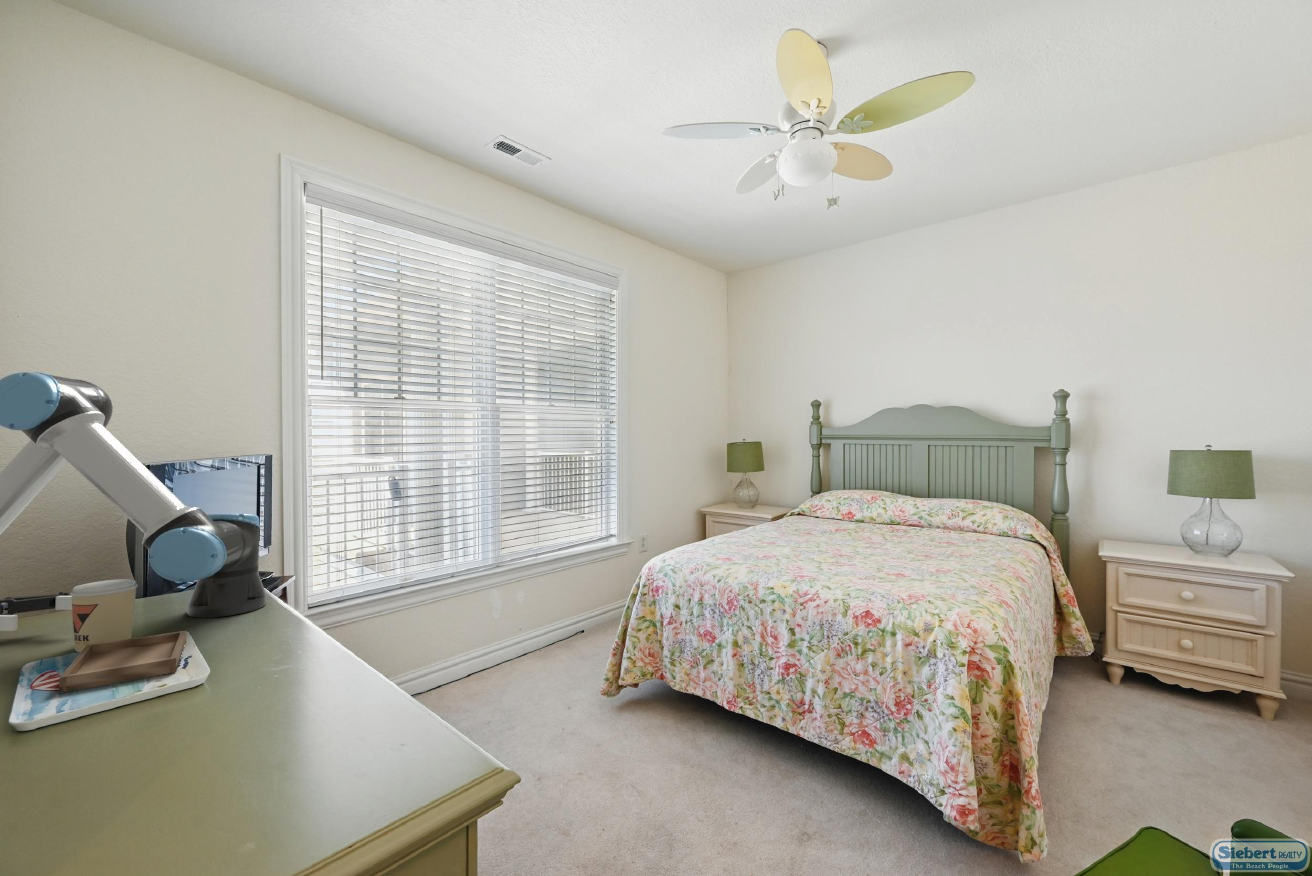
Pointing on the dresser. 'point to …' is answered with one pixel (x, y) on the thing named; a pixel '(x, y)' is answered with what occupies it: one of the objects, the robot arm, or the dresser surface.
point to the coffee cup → (103, 611)
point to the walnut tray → (123, 661)
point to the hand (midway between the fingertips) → (54, 612)
